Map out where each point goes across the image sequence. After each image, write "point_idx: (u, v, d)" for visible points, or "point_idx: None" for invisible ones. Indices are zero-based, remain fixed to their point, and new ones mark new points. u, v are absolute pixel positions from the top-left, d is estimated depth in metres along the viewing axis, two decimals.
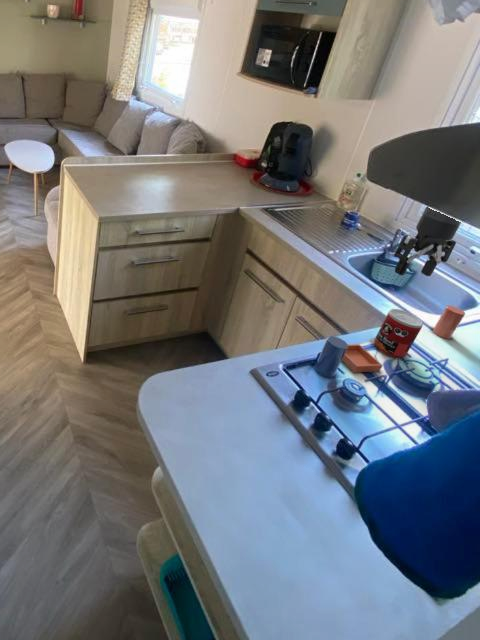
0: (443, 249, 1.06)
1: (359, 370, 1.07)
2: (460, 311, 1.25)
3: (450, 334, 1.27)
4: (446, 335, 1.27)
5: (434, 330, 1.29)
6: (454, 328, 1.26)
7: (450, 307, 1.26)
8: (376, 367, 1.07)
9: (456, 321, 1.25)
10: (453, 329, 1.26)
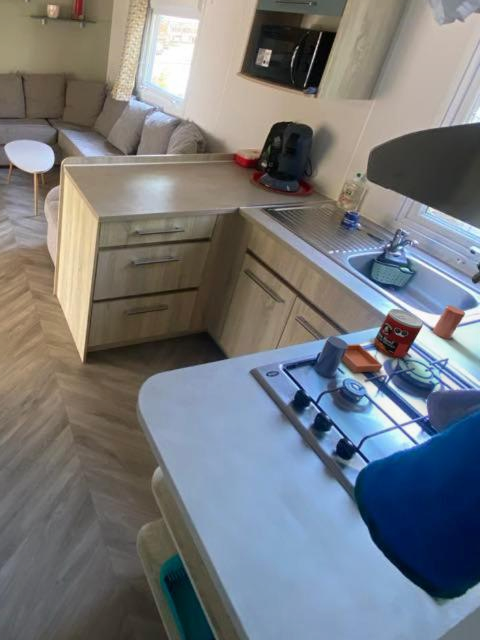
0: None
1: (359, 370, 1.07)
2: (460, 311, 1.25)
3: (450, 334, 1.27)
4: (446, 335, 1.27)
5: (434, 330, 1.29)
6: (454, 328, 1.26)
7: (450, 307, 1.26)
8: (376, 367, 1.07)
9: (456, 321, 1.25)
10: (453, 329, 1.26)
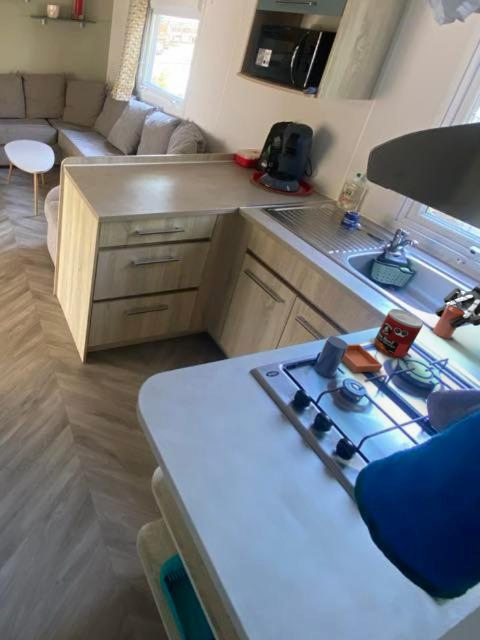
0: None
1: (359, 370, 1.07)
2: (460, 311, 1.25)
3: (450, 334, 1.27)
4: (446, 335, 1.27)
5: (434, 330, 1.29)
6: (454, 328, 1.26)
7: (450, 307, 1.26)
8: (376, 367, 1.07)
9: None
10: (453, 329, 1.26)
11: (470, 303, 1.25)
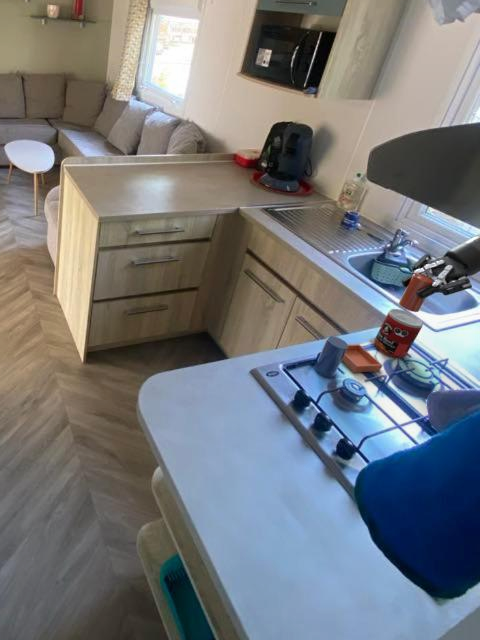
0: None
1: (359, 370, 1.07)
2: (429, 279, 1.06)
3: (418, 306, 1.08)
4: (413, 307, 1.08)
5: (400, 303, 1.11)
6: (422, 299, 1.07)
7: (418, 275, 1.08)
8: (376, 367, 1.07)
9: None
10: (421, 300, 1.07)
11: (441, 270, 1.06)
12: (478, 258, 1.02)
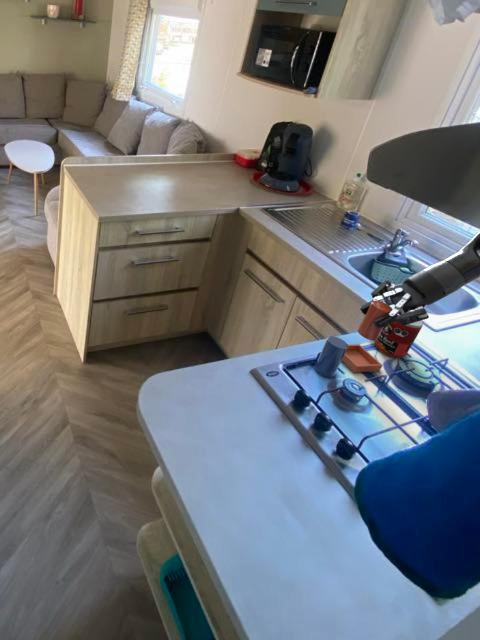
0: None
1: (359, 370, 1.07)
2: (386, 308, 1.04)
3: (376, 335, 1.05)
4: (371, 336, 1.06)
5: (359, 331, 1.08)
6: (380, 328, 1.04)
7: (376, 303, 1.05)
8: (376, 367, 1.07)
9: None
10: (379, 329, 1.05)
11: (399, 298, 1.03)
12: (435, 288, 0.99)
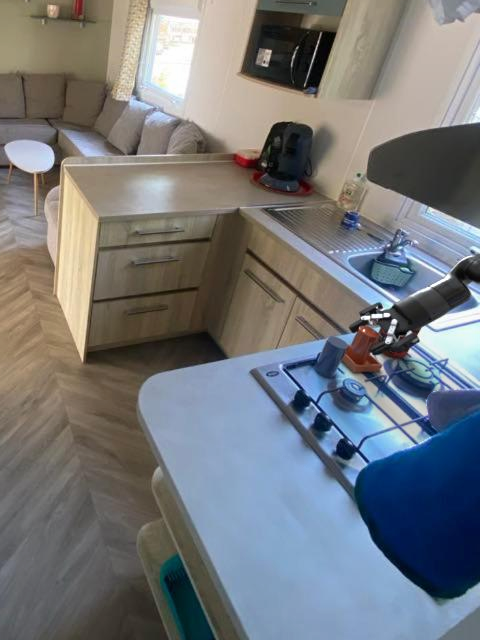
0: None
1: (359, 370, 1.07)
2: (373, 333, 1.07)
3: (363, 360, 1.08)
4: (359, 360, 1.09)
5: (347, 355, 1.11)
6: (367, 353, 1.07)
7: (364, 328, 1.08)
8: (376, 367, 1.07)
9: (369, 345, 1.06)
10: (366, 354, 1.08)
11: (387, 323, 1.06)
12: (421, 314, 1.01)
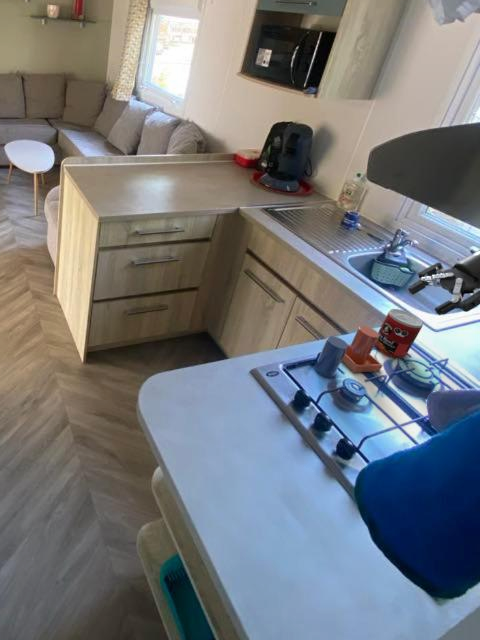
0: None
1: (359, 370, 1.07)
2: (373, 333, 1.07)
3: (363, 360, 1.08)
4: (359, 360, 1.09)
5: (347, 355, 1.11)
6: (367, 353, 1.07)
7: (364, 328, 1.08)
8: (376, 367, 1.07)
9: (369, 345, 1.06)
10: (366, 354, 1.08)
11: (450, 283, 1.04)
12: None
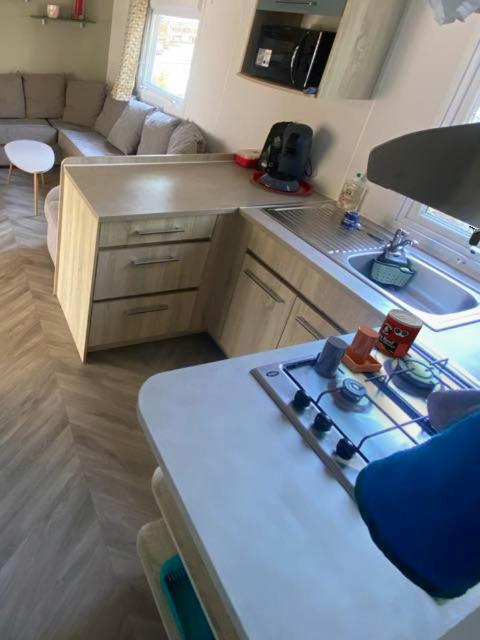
0: None
1: (359, 370, 1.07)
2: (373, 333, 1.07)
3: (363, 360, 1.08)
4: (359, 360, 1.09)
5: (347, 355, 1.11)
6: (367, 353, 1.07)
7: (364, 328, 1.08)
8: (376, 367, 1.07)
9: (369, 345, 1.06)
10: (366, 354, 1.08)
11: None
12: None
